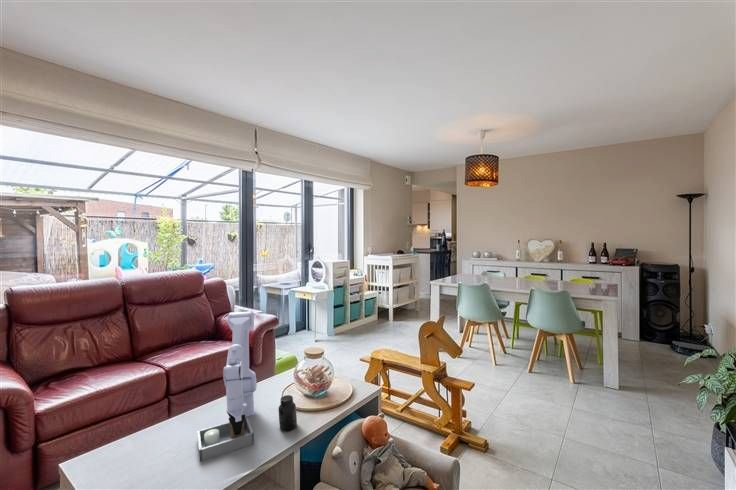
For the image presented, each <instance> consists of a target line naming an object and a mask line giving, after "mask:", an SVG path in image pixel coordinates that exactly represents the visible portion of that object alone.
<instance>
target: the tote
mask: <svg viewBox="0 0 736 490" xmlns="http://www.w3.org/2000/svg"><path fill="white" fill-rule="evenodd" d="M212 429H218V430H219V437H220V443H217V444H214V445H211V446H207V447H205V441H204V434H205V433H206V432H207V431H209V430H212ZM254 433H255V432H254V431H253V427H252V425H251V422H250V420H249V416H247V417H245V419H244V435H243V436H239V437H236V438H233V439H231V436H230V422H229V421H227V422H223V423H219V424H216V425H213V426H210V427H206V428H203V429H199V430H197V431H196V434H197V435H196V436H197V444H198V445H197V446H198V447H197V448H198V455H199V456H198V457H199V462H202V461H206V460H209V459H211V458H215V457H218V456H220V455H224V454H226V453H229V452H234V451H237V450H239V449H242V448H245V447H248V446H251V445H254V444H255V436H254V435H255V434H254Z"/></svg>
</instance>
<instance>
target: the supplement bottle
mask: <svg viewBox="0 0 736 490" xmlns="http://www.w3.org/2000/svg"><path fill="white" fill-rule="evenodd" d="M296 405H297V404H296V403H295V402H294V397H293V396H292V395H290V394H288V395H284V396H281V397H280V404H279V406H278V410H277V411H278V421H279V422H278V423H279V424H278V425H279V430H281V431H282V432H291V431H293V430H295V429H296V428H297V426H298V422H297V420H298V417H297V406H296Z"/></svg>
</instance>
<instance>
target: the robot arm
mask: <svg viewBox="0 0 736 490" xmlns="http://www.w3.org/2000/svg"><path fill="white" fill-rule="evenodd" d="M227 324H228V326H229V328H230V330H231V332H232V341H231V342H232V343H231V346H230V347H229V348H228V350H227V358H226V363H225V364H226V365H225V366H224V367H223V371H222V377H223V378H222V379H223V381H224V387H225V391H226V394H225V395H226V413H227V415H228V416H229V417H228V422H230V423H231V425H232V427H233V431H234V434H235V435H239V434H241V430H242V424H243V421H244V419H245V417H250V416H254V415H257V411H256V408H255V402H254V401H255V400H254V393H255V392H256V390H257V381H258V380H257V374H256V372H255V371H253V370H252V369H250V341H249V340H250V339H249V337H250V336H249V335H250V332H251V331H252V330H254V327H255V325H254V324H255V314H254V312H253V310H250V311H249V310H248V311H237V312H236V311H235V312H229V313H228V317H227Z"/></svg>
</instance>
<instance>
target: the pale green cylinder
mask: <svg viewBox="0 0 736 490" xmlns="http://www.w3.org/2000/svg"><path fill="white" fill-rule="evenodd" d="M204 441H205V447H207V446H211V445H214V444H217V443H220V437H219V430H218V429H212V430H209V431H207V432H206V433H205V434H204Z"/></svg>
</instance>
